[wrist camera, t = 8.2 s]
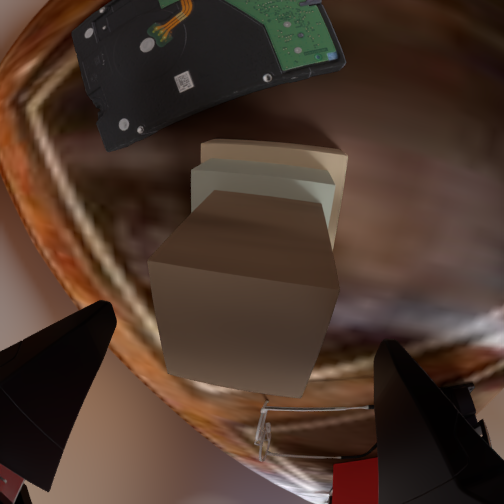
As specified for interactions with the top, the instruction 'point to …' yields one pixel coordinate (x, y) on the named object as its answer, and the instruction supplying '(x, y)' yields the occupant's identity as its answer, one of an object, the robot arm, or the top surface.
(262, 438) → the eyeglasses
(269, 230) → the walnut block
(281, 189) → the tower top
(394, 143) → the top surface
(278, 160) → the tower base
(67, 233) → the top surface
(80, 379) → the robot arm
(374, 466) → the book
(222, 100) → the disk drive
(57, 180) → the top surface
